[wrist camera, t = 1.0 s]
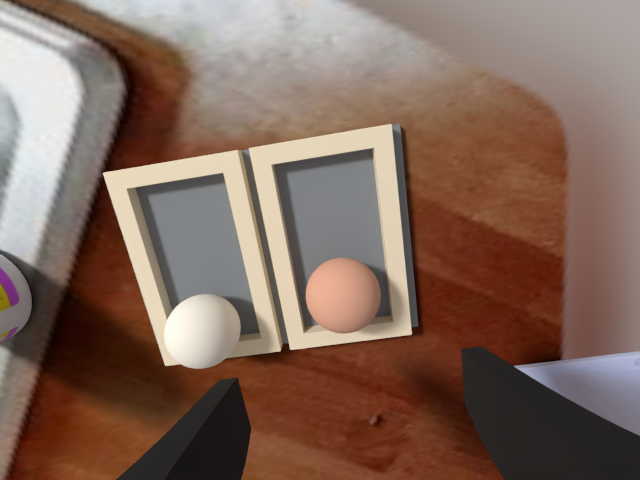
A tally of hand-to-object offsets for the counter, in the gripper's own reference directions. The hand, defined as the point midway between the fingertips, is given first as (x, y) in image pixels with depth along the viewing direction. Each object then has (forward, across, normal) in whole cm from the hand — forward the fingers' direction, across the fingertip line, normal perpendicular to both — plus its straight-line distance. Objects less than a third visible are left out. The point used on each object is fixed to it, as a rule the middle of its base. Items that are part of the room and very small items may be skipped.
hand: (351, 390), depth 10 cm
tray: (+9, +4, -2) cm, 10 cm away
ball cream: (+7, +8, +1) cm, 11 cm away
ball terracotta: (+7, 0, 0) cm, 7 cm away
